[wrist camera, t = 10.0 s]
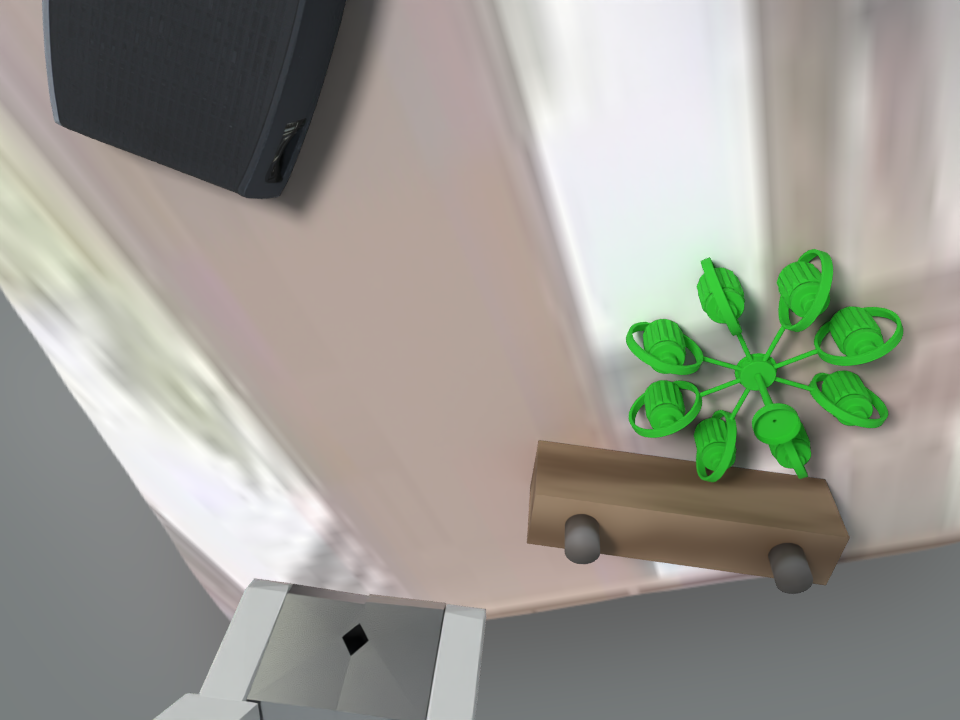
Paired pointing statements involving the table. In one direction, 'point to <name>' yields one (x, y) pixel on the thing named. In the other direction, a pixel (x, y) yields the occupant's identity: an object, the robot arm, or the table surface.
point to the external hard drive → (193, 81)
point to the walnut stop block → (684, 515)
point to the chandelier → (763, 367)
